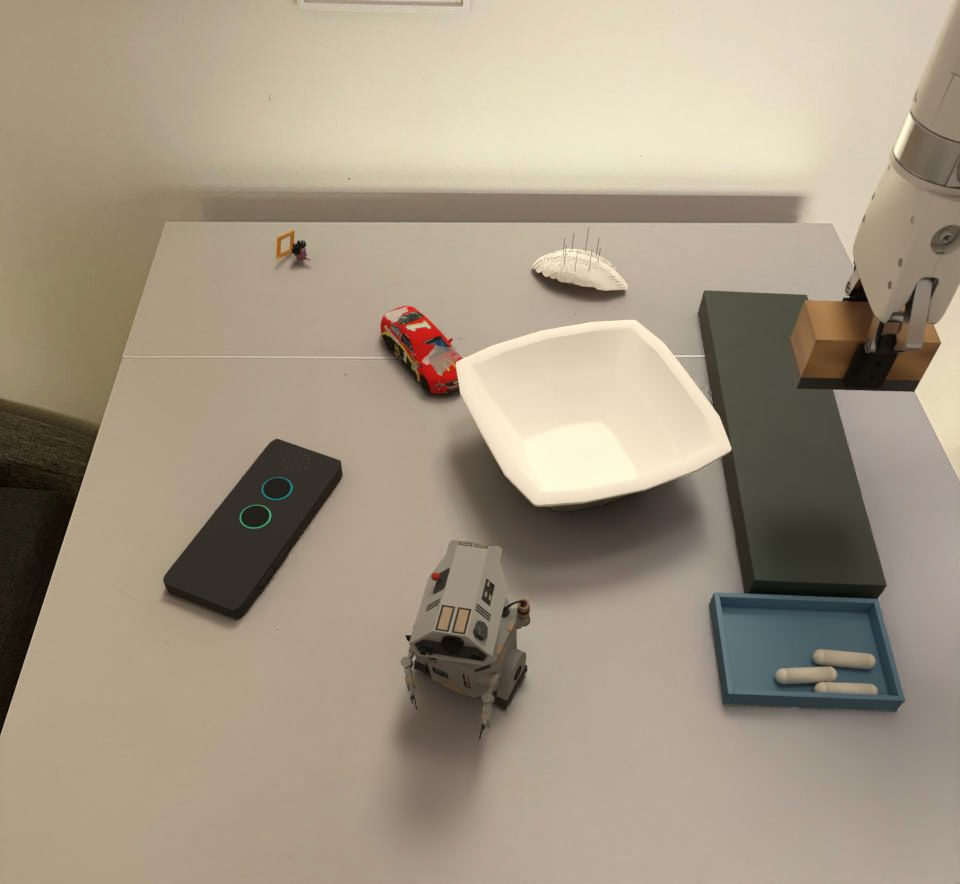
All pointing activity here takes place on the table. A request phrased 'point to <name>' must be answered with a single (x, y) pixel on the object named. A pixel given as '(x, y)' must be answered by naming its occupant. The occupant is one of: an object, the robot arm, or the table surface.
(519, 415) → the bowl
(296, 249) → the toy figure with frame
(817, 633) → the tray
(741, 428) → the board
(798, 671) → the chalk
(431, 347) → the race car
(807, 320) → the eraser
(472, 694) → the figurine
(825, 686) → the chalk
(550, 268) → the pincushion
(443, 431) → the table surface
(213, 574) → the smart home device
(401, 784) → the table surface
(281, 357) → the table surface
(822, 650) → the chalk
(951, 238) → the robot arm
